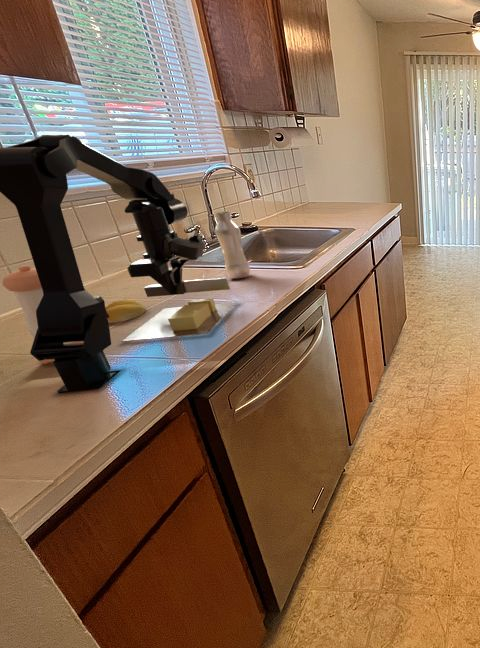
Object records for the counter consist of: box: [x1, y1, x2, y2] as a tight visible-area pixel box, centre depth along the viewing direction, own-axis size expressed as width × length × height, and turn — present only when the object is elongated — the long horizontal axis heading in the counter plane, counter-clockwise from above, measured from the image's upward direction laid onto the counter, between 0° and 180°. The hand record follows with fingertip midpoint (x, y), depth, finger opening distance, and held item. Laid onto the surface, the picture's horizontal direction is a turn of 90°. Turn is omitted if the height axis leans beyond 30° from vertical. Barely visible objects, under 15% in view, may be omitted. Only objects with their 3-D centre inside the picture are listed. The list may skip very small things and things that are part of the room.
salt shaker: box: [2, 264, 84, 365], centre depth 77 cm, size 7×7×19 cm
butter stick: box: [168, 303, 211, 331], centre depth 93 cm, size 8×5×3 cm, turn 11°
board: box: [122, 301, 237, 342], centre depth 95 cm, size 18×17×1 cm
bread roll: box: [105, 299, 147, 324], centre depth 97 cm, size 8×9×4 cm
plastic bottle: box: [214, 211, 251, 279], centre depth 121 cm, size 6×7×20 cm
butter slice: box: [187, 297, 216, 312], centre depth 98 cm, size 2×5×3 cm, turn 102°
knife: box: [143, 277, 231, 298], centre depth 98 cm, size 18×2×3 cm, turn 101°
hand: (176, 292), depth 98 cm, fingers closed on knife, 2 cm apart
